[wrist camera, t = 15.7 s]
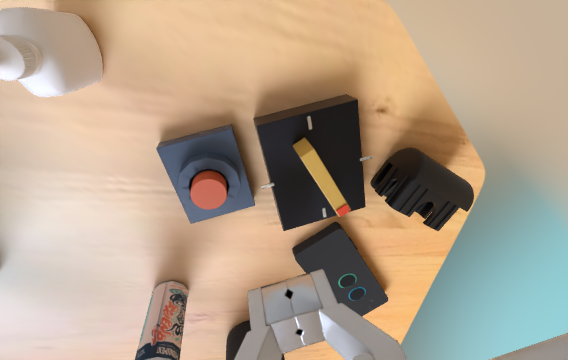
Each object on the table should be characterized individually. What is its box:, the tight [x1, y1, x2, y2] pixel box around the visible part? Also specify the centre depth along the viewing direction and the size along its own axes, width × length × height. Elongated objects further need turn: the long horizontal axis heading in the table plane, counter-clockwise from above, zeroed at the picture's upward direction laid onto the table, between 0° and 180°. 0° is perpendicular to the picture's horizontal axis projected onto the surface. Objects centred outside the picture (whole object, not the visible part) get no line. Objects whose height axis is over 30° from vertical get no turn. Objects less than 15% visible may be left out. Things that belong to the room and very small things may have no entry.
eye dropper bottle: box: [0, 7, 103, 97], centre depth 20 cm, size 4×6×12 cm
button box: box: [156, 125, 255, 224], centre depth 32 cm, size 10×8×4 cm
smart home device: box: [293, 222, 388, 316], centre depth 45 cm, size 8×2×20 cm
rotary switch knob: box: [293, 138, 351, 217], centre depth 31 cm, size 9×2×4 cm, turn 31°
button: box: [190, 170, 227, 209], centre depth 30 cm, size 4×4×2 cm
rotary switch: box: [253, 94, 372, 231], centre depth 34 cm, size 14×13×3 cm
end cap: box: [371, 148, 474, 231], centre depth 36 cm, size 10×7×7 cm
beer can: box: [135, 281, 188, 360], centre depth 35 cm, size 5×5×12 cm
